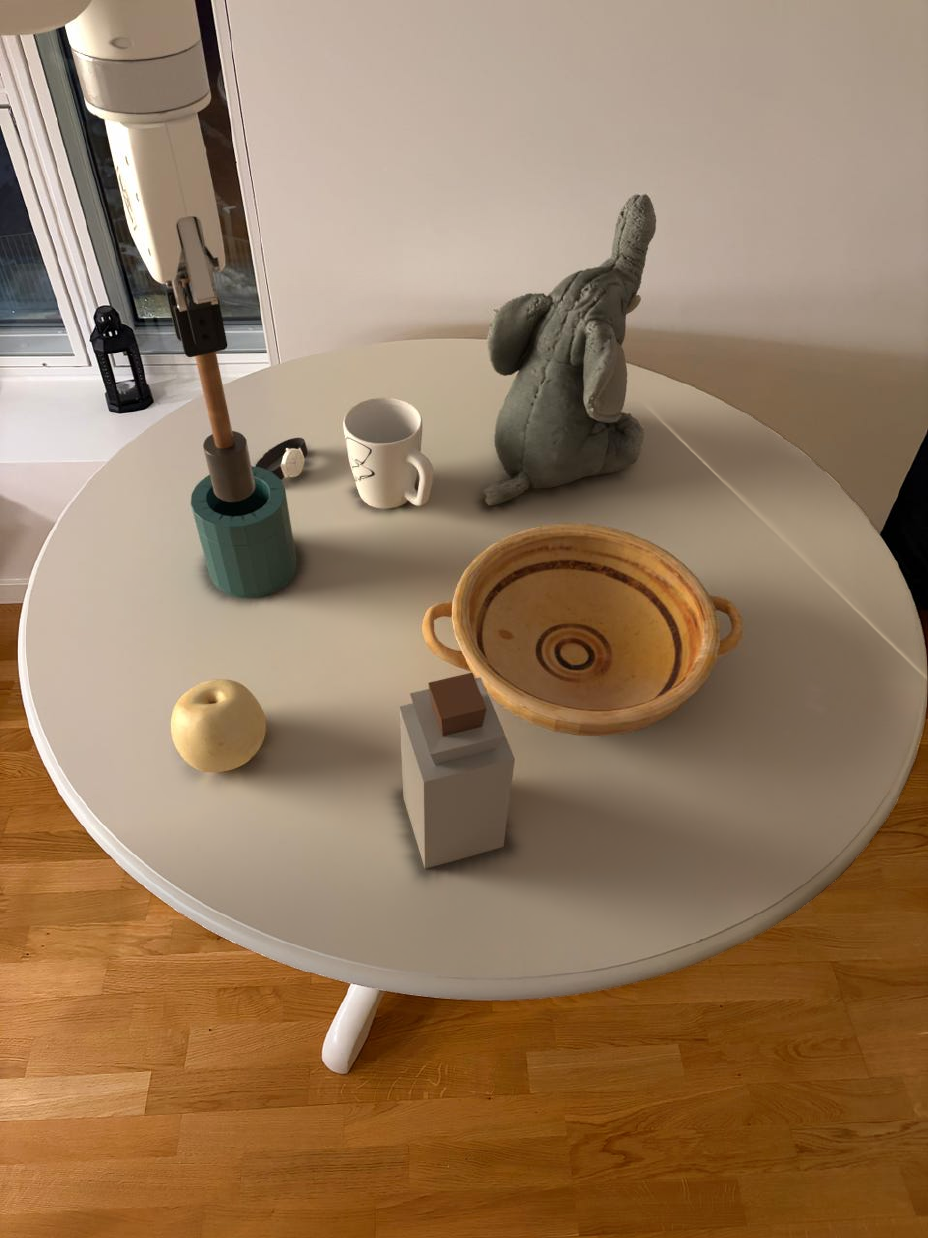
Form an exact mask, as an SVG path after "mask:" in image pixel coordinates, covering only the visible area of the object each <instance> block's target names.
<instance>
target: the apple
mask: <svg viewBox="0 0 928 1238" xmlns="http://www.w3.org/2000/svg"><path fill="white" fill-rule="evenodd" d="M266 729H267V720H266V716H265V712H264V709H263V707H262V705H261V703H260V702H259V700H258V699H257V697H256V696H255V695H254V693H252V692H251V691H250V689H248V687H246V686H245V685H244V684H242V683H241V682H238V681H235V680H231V679H225V678H219V679H209V680H206V681H203V682H200V683H199V684H197V685H195V686H192V688H190V689H189V690H187V691H186V692H185V693H184V694H182V695H181V697H180V698H179V699H178V700H177V702H176V703H175V705H174V707H173V709H172V714H171V719H170V734H171V738H172V742H173V744H174V747H175V749H176V750H177V752H178V754H179V755H180V756H181V758H182V760H184V761H185V762H186V763H187V764H188V765H189V766H191V767H192V768H194V769H196V770H198V771H201V772H204V773H222V772H228V771H232V770H234V769H237V768H240V767H242V766H244V765H245V764H247V763H248V762H249V761H250V760H252V759H253V758H254V756H256V754H257V753H258V751H259V750H260V748H261V746H262V745H263V742H264V739H265V737H266V732H267V731H266Z"/></svg>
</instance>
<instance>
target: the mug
mask: <svg viewBox="0 0 928 1238" xmlns="http://www.w3.org/2000/svg"><path fill="white" fill-rule="evenodd" d="M342 425H343V433H344V438H345V445H346V451H347V456H348V461H349V466H350V469H351V472H352V475H353V479H354V482H355V485H356V488H357V492H358V495H359V496H360V498H361V500H362V501H363V502H364V503H366V504H367V505H368V506H370V507H373V508H376V509H384V510H386V509H387V510H389V509H395V508H398V507H401V506H403V505H405V504H406V503H407V502H410V503H411V504H412V505H413V506H417V507H420V506H423V505H425V504H426V503H427V502H428V501H429V499H430V496H431V490H432V486H433V482H434V473H435V471H434V467H433V463H432V462H431V460H430V459H429V458H428V456H426V455H425V454H423V453H422V440H423V418H422V415H421V413H420V412H419V410H418V409H417V408H416V407H415V406H414V405H413V404H411V403H410V402H408V401H405V400H403V399H399V398H394V397H383V396H382V397H374V398H368V399H365V400H364V399H363V400H362V401H360V402H358V403H356V404H354V405H353V406H351V407H350V408H348V410H347V411H346V413H345V415H344V417H343V424H342ZM417 476H419V482H418V489H417V490H416V488H415V486H416V481H417V478H418V477H417Z"/></svg>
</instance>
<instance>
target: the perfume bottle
mask: <svg viewBox="0 0 928 1238" xmlns="http://www.w3.org/2000/svg"><path fill="white" fill-rule="evenodd" d="M427 684H428V688H427V689H423V690H419V691H415V692H410V693H409V695H410V699H411V701H412V703H409V704H405V705H401V706H398V707H399V709H398V710H399V727H400V728H399V729H400V732H399V733H400V753H401V773H402V795H403V796H402V797H403V802H404V805H405V808H406V811H407V814H408V818H409V821H410V825H411V828H412V832H413V834H414V838H415V841H416V844H417V847H418V851H419V854H420V857H421V861H422V865H423V867H424V869H425V870H426V869H429V868H433V867H436V866H439V865H443V864H447V863H451V862H454V861H457V860H461V859H466V858H469V857H472V856H476V855H480V854H483V853H487V852H490V851H494V850H497V849H502V848H504V846H505V839H506V830H507V823H508V817H509V816H508V815H509V806H510V799H511V791H512V783H513V776H514V770H515V769H514V768H515V761H516V759H515V755H514V753H513V751H512V748H511V746H510V744H509V741H508V738H507V736H506V734H505V732H504V729H503V727H502V724H501V721H500V720H499V716H498V713H497V711H496V709H495V707H494V705H493V702H492V700H491V696H490V694H489V693H488V692H487V690H486V687H485V686H484V684H483V681H482V679H481V677H479V678H476V677H475V676H474V674H473V673H472V672H469V673H465V674H460V675H456V676H451V677H447V678H443V679H439V680H433V681H430V682H428V683H427Z"/></svg>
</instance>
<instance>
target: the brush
mask: <svg viewBox="0 0 928 1238" xmlns="http://www.w3.org/2000/svg"><path fill="white" fill-rule="evenodd" d="M181 281H182V285H183V286H184V283H186V282H190V280H189V278H185V279H181ZM194 358H195V362H196V366H197V371H198V376H199V381H200V384H201V388H202V394H203V397H204V401H205V406H206V411H207V415H208V419H209V424H210V427H211V428H210V429H211V434H210V435H208V436H207V437H206V438H205V439H204V441H203V445H202V446H203V447H202V449H203V452H204V457H205V460H206V464H207V470H208V473H209V474H208V475H210V478H211V482H212V486H213V490H214V494H215V495H216V496H217V497H218V498H219V499H221V500H223V501H227V502H237V501H241V500H244V499H246V498H248V497H249V496H250V495H252V493H253V492H254V490H255V482H254V477H253V472H252V462H251V456H250V451H249V447H248V441H247V438H246V437H245V436H244V434H242V433H241V432H238V431H235V430H233V428H232V423H231V419H230V414H229V409H228V404H227V399H226V395H225V389H224V385H223V379H222V375H221V370H220V365H219V360H218V355H217V352H212V353H208V354H203V355H199V356H195V357H194Z"/></svg>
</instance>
